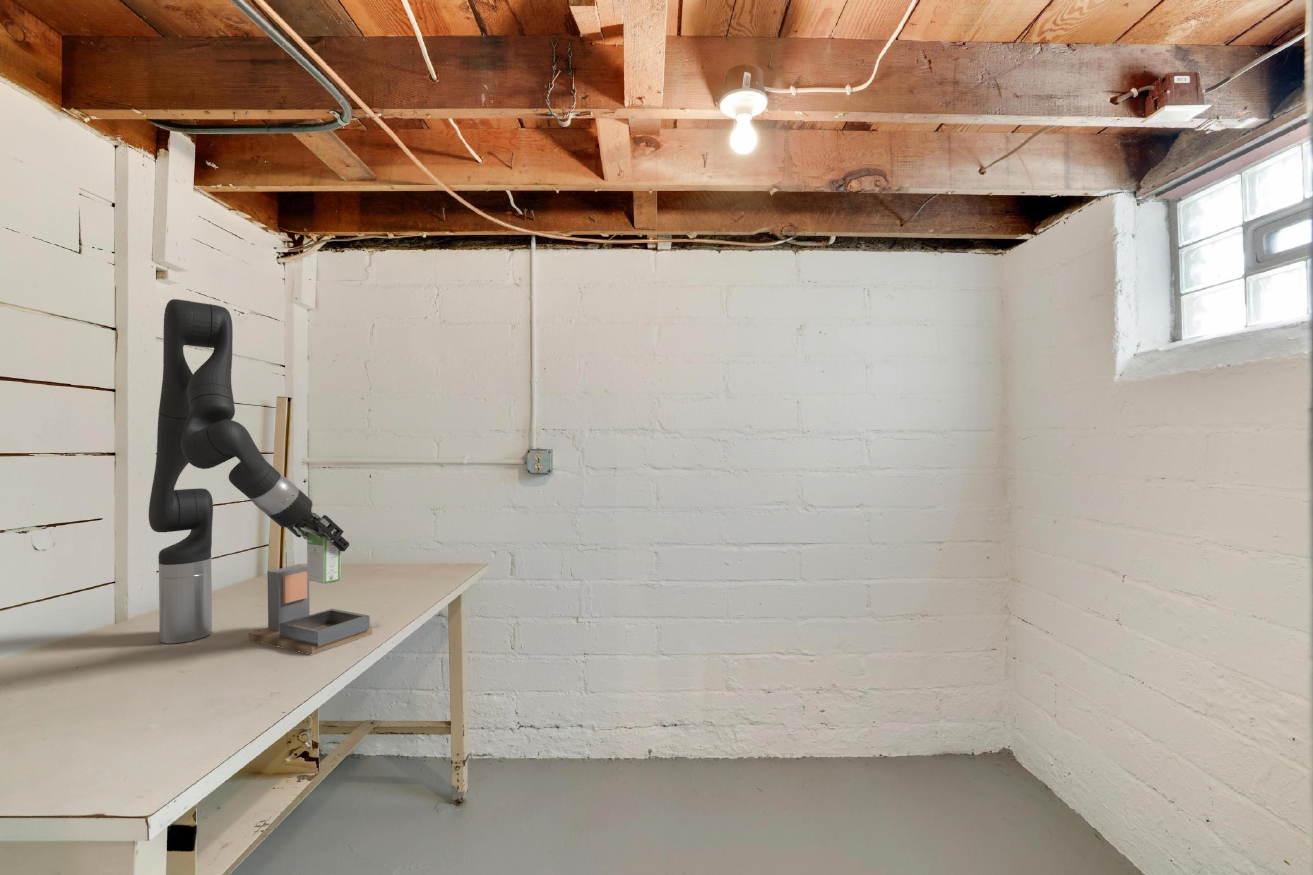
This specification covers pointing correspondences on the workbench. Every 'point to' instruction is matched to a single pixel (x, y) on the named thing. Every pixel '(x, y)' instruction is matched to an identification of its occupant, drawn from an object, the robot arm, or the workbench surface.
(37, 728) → the workbench surface
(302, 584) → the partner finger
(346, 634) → the dark gray rectangular frame
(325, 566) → the ink box
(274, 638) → the walnut rail base
